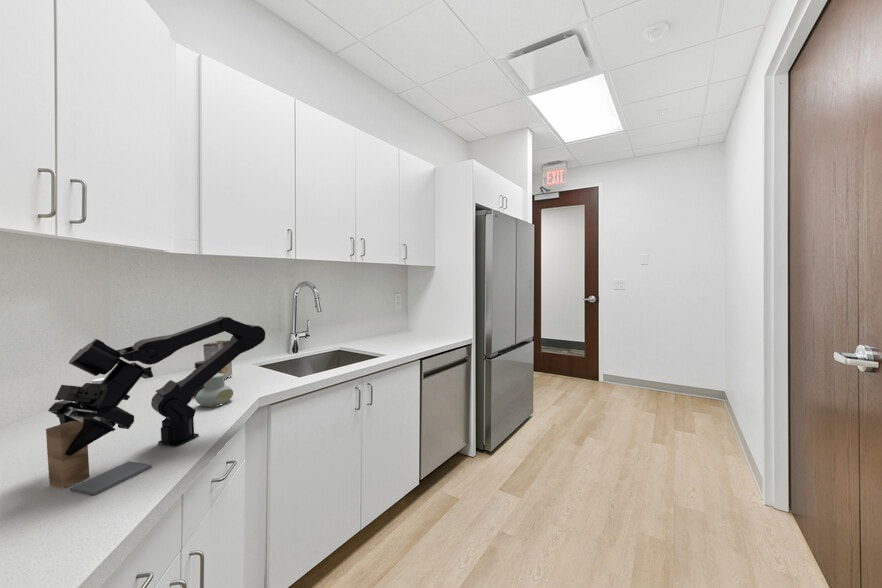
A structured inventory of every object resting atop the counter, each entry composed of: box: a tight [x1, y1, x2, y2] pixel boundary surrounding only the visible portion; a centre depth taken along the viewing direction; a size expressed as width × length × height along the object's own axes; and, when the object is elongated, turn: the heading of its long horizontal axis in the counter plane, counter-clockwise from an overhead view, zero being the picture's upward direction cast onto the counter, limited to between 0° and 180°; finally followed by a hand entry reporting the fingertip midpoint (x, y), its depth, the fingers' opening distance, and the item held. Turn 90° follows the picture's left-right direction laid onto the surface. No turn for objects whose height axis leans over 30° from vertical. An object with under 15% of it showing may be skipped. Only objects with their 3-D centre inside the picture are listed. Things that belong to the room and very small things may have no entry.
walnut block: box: [45, 421, 90, 489], centre depth 77 cm, size 4×4×12 cm
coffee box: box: [203, 340, 233, 380], centre depth 155 cm, size 9×6×16 cm
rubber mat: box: [69, 460, 152, 496], centre depth 78 cm, size 11×7×1 cm, turn 165°
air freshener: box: [195, 373, 234, 407], centre depth 124 cm, size 11×8×10 cm
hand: (59, 453), depth 76 cm, fingers closed on walnut block, 4 cm apart
